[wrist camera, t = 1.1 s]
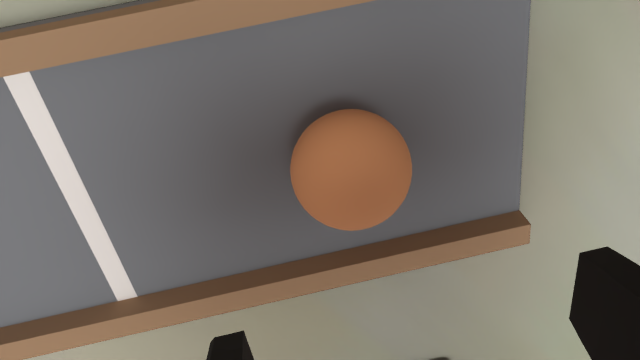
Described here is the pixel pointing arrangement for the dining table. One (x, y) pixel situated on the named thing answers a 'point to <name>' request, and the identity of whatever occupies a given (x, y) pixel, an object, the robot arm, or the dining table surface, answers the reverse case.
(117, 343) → the dining table surface
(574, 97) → the dining table surface
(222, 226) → the lane
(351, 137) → the ball
